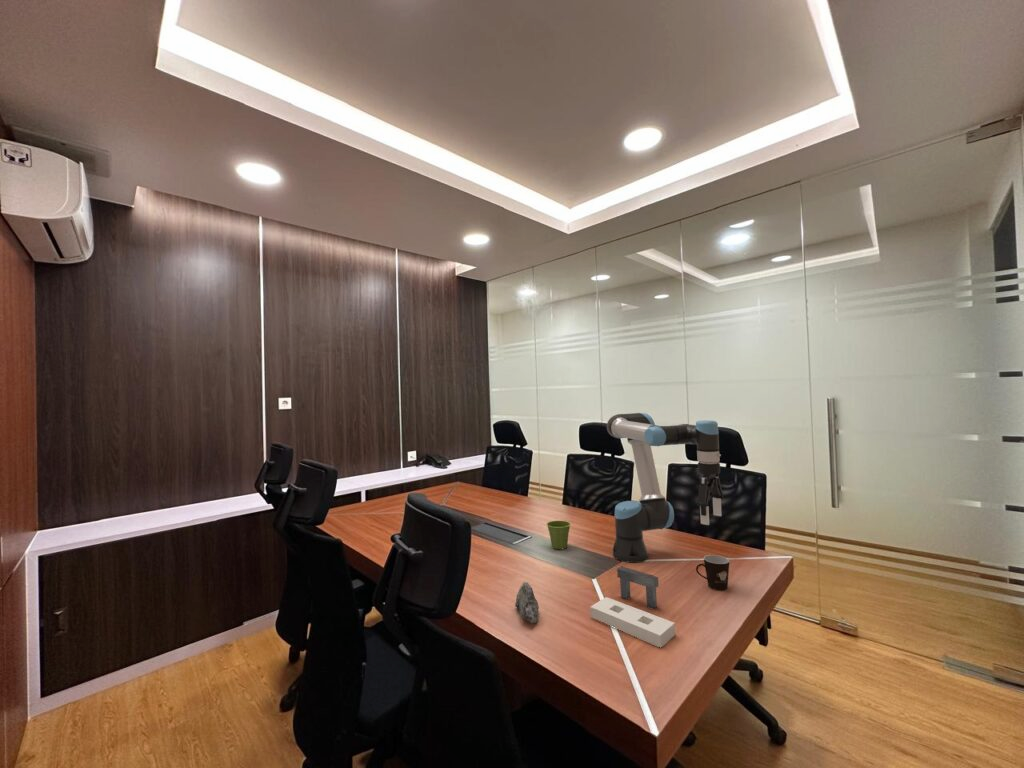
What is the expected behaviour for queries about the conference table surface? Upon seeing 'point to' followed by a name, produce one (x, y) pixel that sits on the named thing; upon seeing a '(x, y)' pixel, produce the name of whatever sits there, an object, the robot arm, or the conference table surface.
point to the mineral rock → (527, 603)
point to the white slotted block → (634, 621)
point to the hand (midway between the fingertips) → (711, 519)
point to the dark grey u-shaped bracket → (639, 578)
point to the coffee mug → (716, 571)
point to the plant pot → (559, 533)
